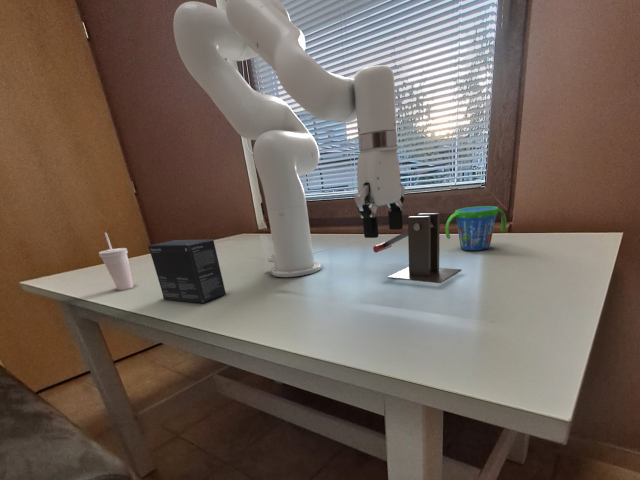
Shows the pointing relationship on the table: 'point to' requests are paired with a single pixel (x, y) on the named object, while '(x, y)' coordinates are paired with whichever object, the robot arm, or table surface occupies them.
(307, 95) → the robot arm
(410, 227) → the bracket
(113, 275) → the smoothie
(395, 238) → the tap lever
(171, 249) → the small box
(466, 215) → the snack cup
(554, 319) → the table surface
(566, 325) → the table surface
